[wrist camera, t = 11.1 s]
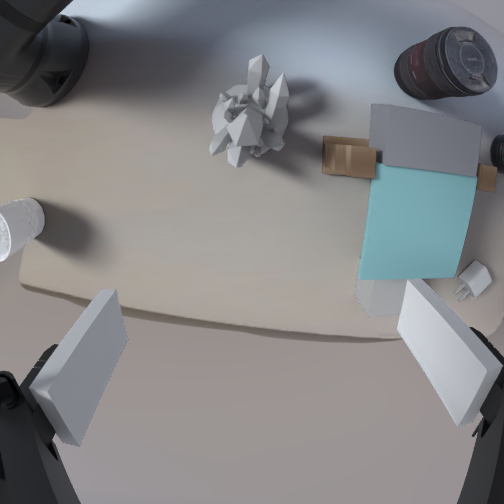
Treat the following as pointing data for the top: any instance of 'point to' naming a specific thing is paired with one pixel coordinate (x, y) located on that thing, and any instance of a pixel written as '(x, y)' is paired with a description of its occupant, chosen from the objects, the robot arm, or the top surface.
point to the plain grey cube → (380, 296)
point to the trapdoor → (418, 193)
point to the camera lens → (447, 66)
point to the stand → (364, 161)
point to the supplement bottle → (498, 153)
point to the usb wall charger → (474, 280)
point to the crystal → (251, 116)
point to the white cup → (19, 224)
